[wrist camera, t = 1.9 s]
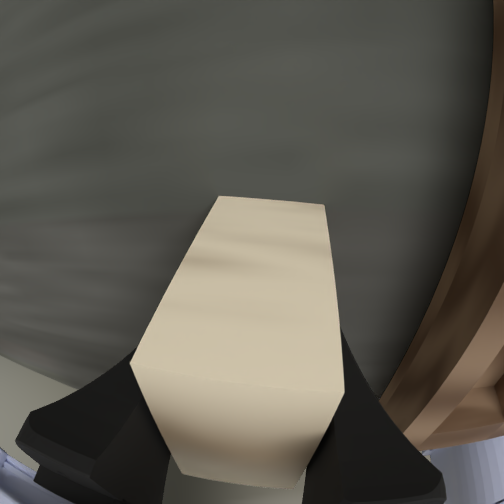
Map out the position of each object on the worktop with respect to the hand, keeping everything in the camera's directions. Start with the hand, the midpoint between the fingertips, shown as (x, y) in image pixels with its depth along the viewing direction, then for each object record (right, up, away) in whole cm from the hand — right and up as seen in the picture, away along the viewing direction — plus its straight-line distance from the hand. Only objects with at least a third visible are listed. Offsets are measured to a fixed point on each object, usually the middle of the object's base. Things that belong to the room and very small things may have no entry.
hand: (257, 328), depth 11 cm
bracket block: (0, +2, +3) cm, 3 cm away
